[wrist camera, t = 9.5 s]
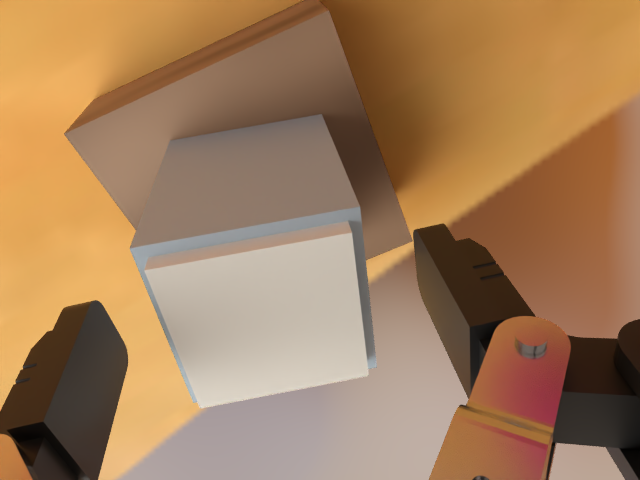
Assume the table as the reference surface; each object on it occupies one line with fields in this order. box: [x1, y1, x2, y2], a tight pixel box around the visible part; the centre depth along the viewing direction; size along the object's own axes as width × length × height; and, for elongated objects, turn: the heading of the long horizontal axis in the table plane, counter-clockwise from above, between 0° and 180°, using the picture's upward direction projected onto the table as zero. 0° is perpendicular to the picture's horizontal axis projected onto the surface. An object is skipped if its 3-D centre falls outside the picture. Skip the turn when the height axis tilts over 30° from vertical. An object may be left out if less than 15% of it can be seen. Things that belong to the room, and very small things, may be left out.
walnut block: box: [64, 0, 412, 260], centre depth 19 cm, size 9×9×4 cm
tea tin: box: [130, 114, 377, 408], centre depth 14 cm, size 5×5×7 cm
